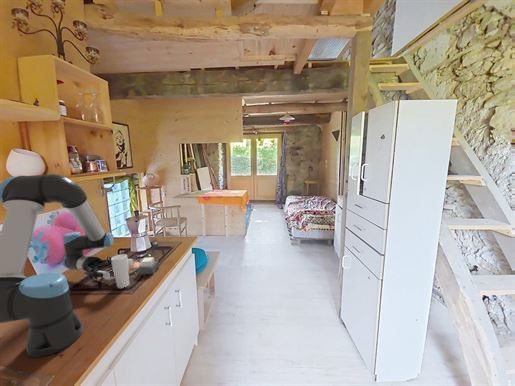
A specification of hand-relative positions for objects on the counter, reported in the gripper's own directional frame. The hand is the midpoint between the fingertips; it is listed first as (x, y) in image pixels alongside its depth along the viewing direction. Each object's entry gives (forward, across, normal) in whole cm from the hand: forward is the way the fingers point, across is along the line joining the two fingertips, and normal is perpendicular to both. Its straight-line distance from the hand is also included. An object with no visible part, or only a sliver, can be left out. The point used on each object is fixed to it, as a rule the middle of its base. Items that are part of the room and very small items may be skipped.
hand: (121, 268), depth 117 cm
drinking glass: (0, 0, -9) cm, 9 cm away
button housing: (+2, -14, -9) cm, 17 cm away
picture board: (-12, -10, -9) cm, 18 cm away
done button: (+2, -14, -6) cm, 16 cm away
